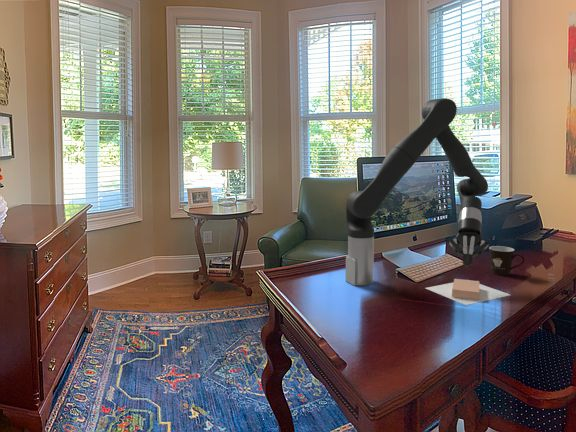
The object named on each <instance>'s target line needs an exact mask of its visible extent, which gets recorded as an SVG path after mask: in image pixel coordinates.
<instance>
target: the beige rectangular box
mask: <svg viewBox="0 0 576 432" xmlns="http://www.w3.org/2000/svg"><path fill="white" fill-rule="evenodd" d="M452 283H453V288H452V297H456V298H465V299H473V300H479V284H480V280H471V279H470V280H469V279H460V278H453V282H452Z"/></svg>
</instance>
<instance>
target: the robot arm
mask: <svg viewBox="0 0 576 432" xmlns="http://www.w3.org/2000/svg"><path fill="white" fill-rule="evenodd" d="M457 111H458V108H457V105H456V103H455V101H454V100H453V99H449V98H443V97H442V98H434V99H430V100H428V101H426V102H425V103H424V104H423V106H422V109H421V117H422V119H423V121H422V122H421V123H420V125H418V127H416V128H415V129H414V130H413V131H411V132H410V133H408V134H407V135H406V136H404V137H403V138H402V139H400V140H399V141H398V142H397V143H396V144H395V145H394V146H393V147H392V148H391V150H389V152H388V153H387V154H386V156H385V157H384V159H383V161H381V165H380V166H379V168H378V171H377V173H376V175H375V176H374V178H373V179H372V181H371V182H370V183H369V184H368V185H367V186H366V188H365V189H364V190H356V191H353V192H352V193H350V194H349V195H348V197H347V200H346V205H345V206H346V207H345V209H346V212H345V214H346V228H347V255H346V256H345V282H346V281H347V283H349V284H351V285H352V286H368V285H369V286H370V285H372V284H373V283H374V267H375V265H374V264H375V263H374V261H375V260H374V259H375V256H374V254H375V253H374V252H375V229H374V225H373V224H372V217H373V216H374V214H376V212H377V211H378V210H379V208H380V206H381V205H382V204H383V202H384V200H385V199H386V198H387V196H388V195H389V193H390V192H391V191H392V190H393V189H394V187H396V185H397V184H398V183H399V182H400V181H401V179H402V178H403V177H405V175H406V174H407V172H409V170H410V169H411V168H412V167H413V165H414V164H415V163H417V161H418V160H419V158H420V157H421V155H423V153H424V152H426V150H427V148H428V147H430V145H431V144H432V142H433V141H434V140H435V139H436V140H437V142H438V143H439V146H440V147H441V149H443V152H444V154H445V155H446V156H445V157H446V158H447V160H448V162H449V164H450V166H451V168H452V171H453V173H454V174H455V176H457V177H461V178H462V177H464V179H461V180H460V181H459V182H458V183H457V185H456V190H457V191H456V192H457V194H458V197H459V201H460V206H459V207H460V209H459V211H460V212H459V215H458V223H457V225H458V227H457V234H456V235H455V238H450V239H449V240H448V241H449V242H448V243H449V246H450V247H451V248H452V250H453V251H454V252H455V253H456V255H458V256H459V257H460V256H462V265H463V266H464V267H466V268H470V267H471V266H472V265H473V258H478V257H479V256H480V255H481V254H482V253H484V252H485V251H486V250H487V249H489V244H490V243H489V241H485V240H484V239H483V237H482V225H483V222H482V220H483V217H482V199H480V198H479V197H478V196H481V195H484V194H486V193H487V192H488V189H489V185H488V181H487V180H486V177H484V175H483V174H482V173H481V172H480V170H479V169H478V168H477V167H476V166H475V165H474V163H473V161H472V159H471V156H470V154H469V152H468V151H467V149H466V147H465V145H464V144H463V143H462V142H461V141H460V140H459V139H458V138H457V136H456V135H455V134H454V132H453V131H452V129H451V126H450V124H451V123H452V122H453V121H454V119H455V117H456V115H457ZM479 245H480V246H479ZM478 246H479V247H478ZM461 248H462V249H461ZM474 249H475V250H474Z"/></svg>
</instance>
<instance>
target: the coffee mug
mask: <svg viewBox="0 0 576 432" xmlns="http://www.w3.org/2000/svg"><path fill="white" fill-rule="evenodd" d="M488 250H489V268H490V273H491V274H492V275H496V276H501V277H502V276H503V277H504V276H505V277H507V276H510V274H511V270H513V269H515V268H517V267H520V266H521V265H523V264H524V263H525V257H524V256H523V255H522V254H519V253H518V254H517V253H515V248H512V247H509V246H504V245H503V246H501V245H496V246H495V245H492V246H488ZM516 257H520V258H521V259H522V262H521V263H520V264H517V265H514V266H512V264H513V260H514V258H516Z"/></svg>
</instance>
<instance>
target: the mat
mask: <svg viewBox="0 0 576 432" xmlns="http://www.w3.org/2000/svg"><path fill="white" fill-rule="evenodd" d="M453 283H454V282H448V283H443V284H439V285H434V286H429V287H425V289H426V290H428V291H431V292H433V293H435V294H438V295H440V296H442V297H445V298H448V299H450V300H452V301H454V302H457V303H460V304H461V305H464V307H467V306H468V305H472V304H477V303H482V302H483V303H484V302H487V301H490V300H491V301H492V300H496V299H499V298H504V297H509V296H511V294H509V293H507V292H503V291H501V290H499V289H495V288H492V287H489V286H486V285H484V284H481V283H479V300H473V299H465V298H456V297H452V288H453Z"/></svg>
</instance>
